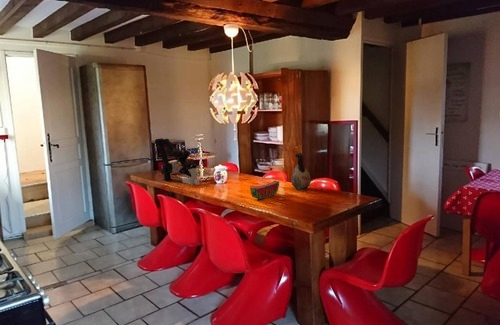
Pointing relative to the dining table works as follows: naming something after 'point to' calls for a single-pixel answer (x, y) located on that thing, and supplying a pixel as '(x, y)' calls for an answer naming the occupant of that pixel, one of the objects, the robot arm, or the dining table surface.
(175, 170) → the stack of blocks
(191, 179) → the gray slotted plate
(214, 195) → the dining table surface
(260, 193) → the fruit slice
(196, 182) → the white rectangular bar
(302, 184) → the ceramic jug
